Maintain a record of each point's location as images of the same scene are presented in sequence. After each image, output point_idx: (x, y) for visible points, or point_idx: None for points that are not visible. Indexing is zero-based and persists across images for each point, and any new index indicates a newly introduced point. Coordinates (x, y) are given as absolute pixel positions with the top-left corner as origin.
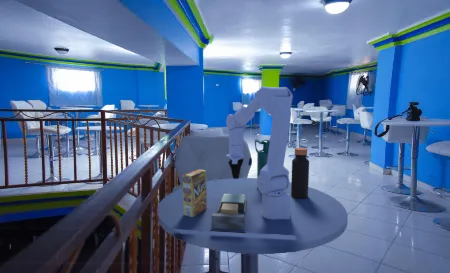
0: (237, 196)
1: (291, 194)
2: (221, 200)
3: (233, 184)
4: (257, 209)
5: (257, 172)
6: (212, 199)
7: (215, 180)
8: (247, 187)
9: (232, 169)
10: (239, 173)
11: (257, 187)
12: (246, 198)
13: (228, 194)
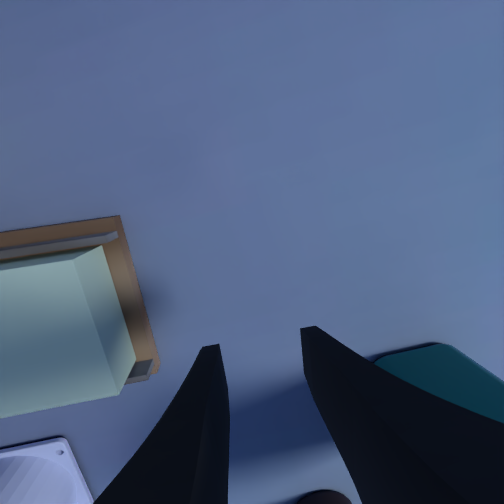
0: (53, 364)
1: (314, 501)
2: (22, 249)
3: (467, 206)
4: (103, 412)
5: None
6: (159, 143)
7: None
8: (415, 298)
9: (139, 471)
10: (317, 402)
11: (386, 364)
12: (131, 381)
13: (67, 296)
